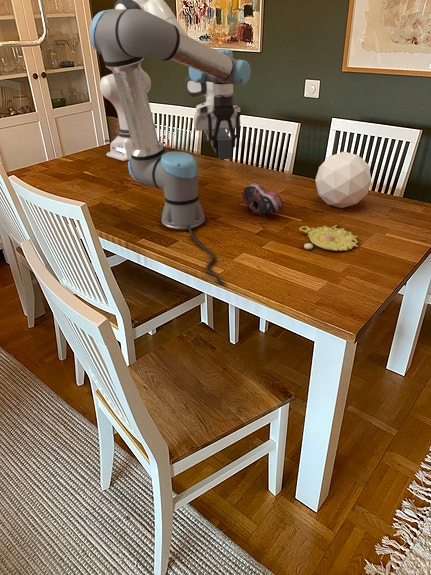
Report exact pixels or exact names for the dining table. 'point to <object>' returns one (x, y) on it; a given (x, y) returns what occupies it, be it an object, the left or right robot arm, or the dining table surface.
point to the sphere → (343, 179)
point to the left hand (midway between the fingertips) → (217, 139)
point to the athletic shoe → (261, 200)
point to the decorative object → (330, 238)
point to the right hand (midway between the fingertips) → (224, 155)
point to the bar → (223, 144)
